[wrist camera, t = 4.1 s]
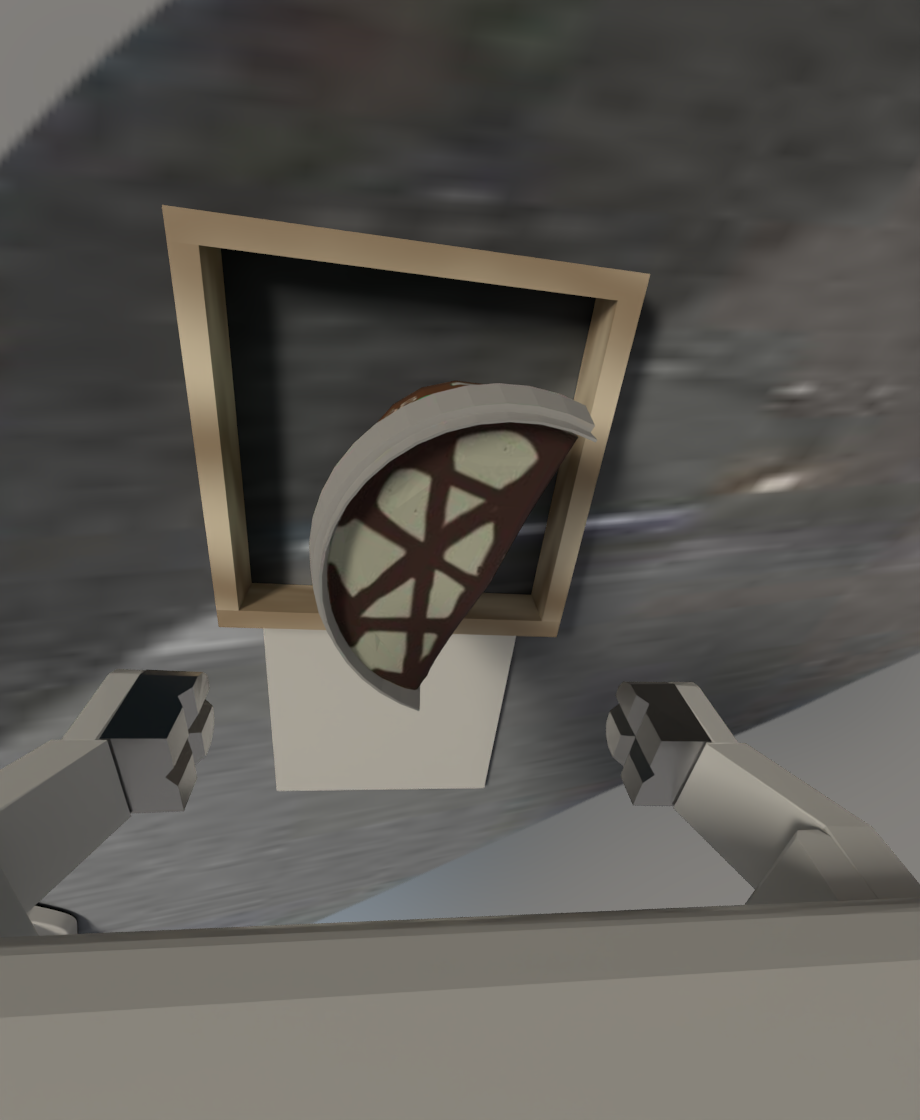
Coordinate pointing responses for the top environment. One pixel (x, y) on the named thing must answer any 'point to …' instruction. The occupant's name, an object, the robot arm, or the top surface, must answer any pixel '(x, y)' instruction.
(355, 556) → the food container
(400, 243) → the frame
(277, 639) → the mat
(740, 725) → the top surface
